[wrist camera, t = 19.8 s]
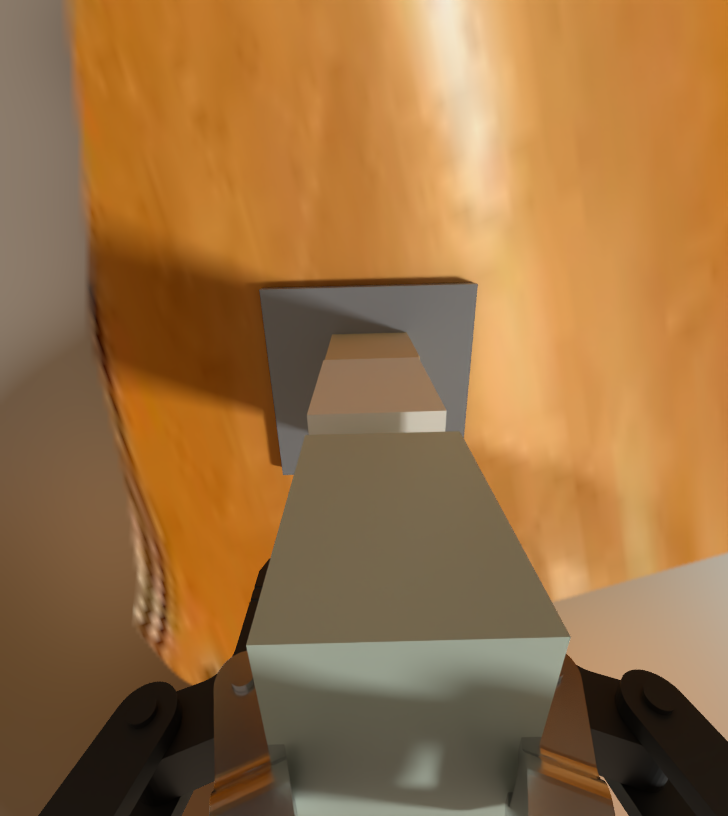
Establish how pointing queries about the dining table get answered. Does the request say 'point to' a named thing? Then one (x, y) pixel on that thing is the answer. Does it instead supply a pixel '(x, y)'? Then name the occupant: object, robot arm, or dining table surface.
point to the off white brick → (375, 398)
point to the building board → (364, 313)
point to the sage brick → (401, 632)
